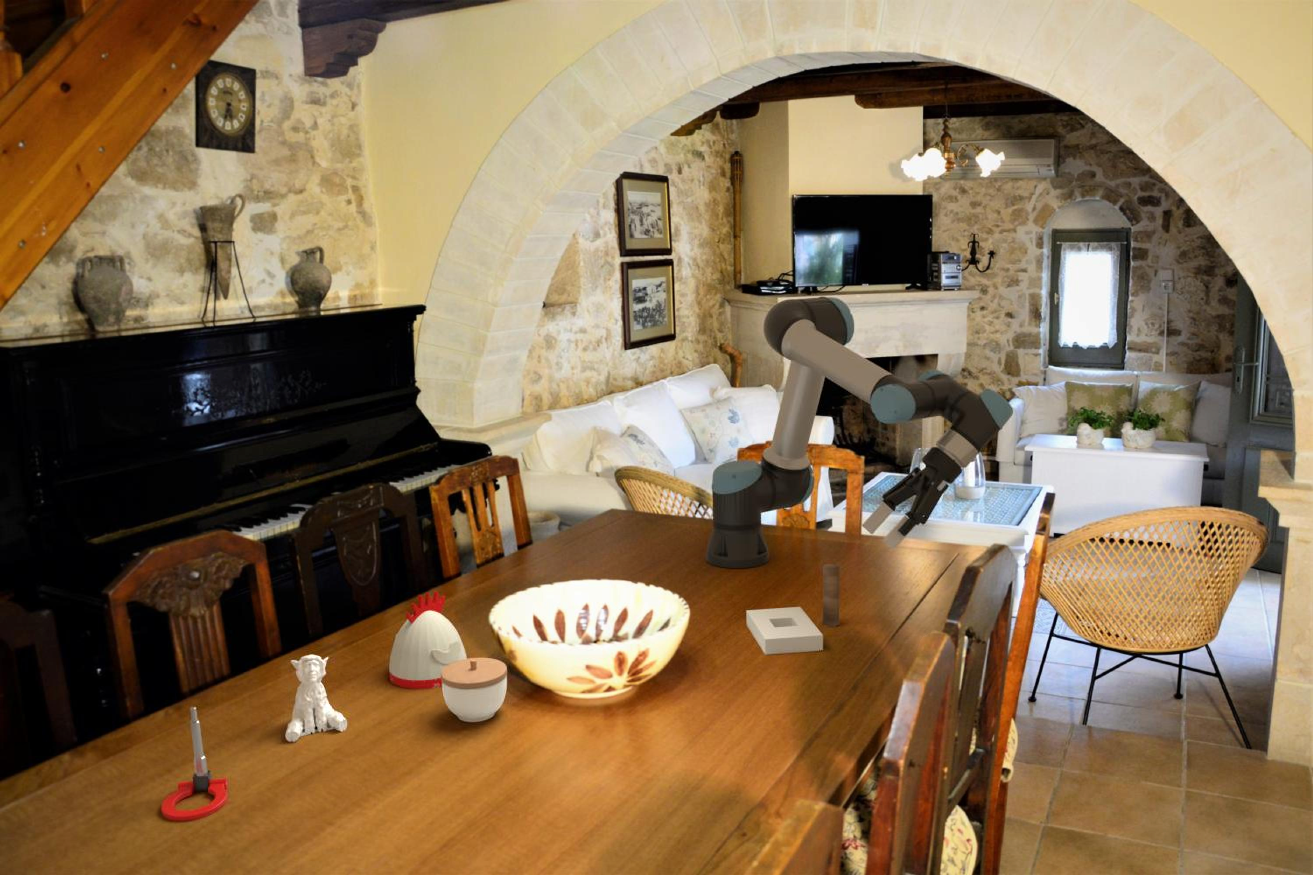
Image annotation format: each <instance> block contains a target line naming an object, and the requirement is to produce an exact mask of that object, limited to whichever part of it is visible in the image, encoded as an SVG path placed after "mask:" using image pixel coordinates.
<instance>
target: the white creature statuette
mask: <svg viewBox="0 0 1313 875" xmlns="http://www.w3.org/2000/svg"><path fill="white" fill-rule="evenodd" d="M328 659H329V656H327V657H325V658H323V659H322V657H321V656H319V655H316V654H309V655H304V656H301V657H300V659H298V660H293V659H291V660H290V663H291V664H292V665H293V668H295V669H296V670H295V674H296V677H297V678H298V681H299V682H300V685H298V687H297V689H296V690H297V691H296V695H295V697H294V698H295V701H294V702H295V703H294V705H293V709H292V710H293V711H292V714H291V715H292V718H291V721H290V722H288V724H287V728H286V730H285V735H284V736H285V739H286V740H287V741H288V742H293V743H295V742H296V741H298V740H299V738H300V737H305V736H309V735H311V733H312V734H315V733H316V732H319V733H322V731H323V732H326V731H330V730H336V731H339V732H341V733H342V732H343V731H346V729H347V727H348V721H347V719H346V717H344V715H343V714H342V713H341V712H339V711H337V710H335V709H334V708H333V707H332V705H331V704H330V702H329V700H328V698H327V696H328V695H327V690H326V689H325V687H324V684H323V683H322V682H321V681H322V679H323V677H325V676H326V675H327V672H326V666H327V661H328ZM316 727H317V729H316Z"/></svg>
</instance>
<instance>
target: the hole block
mask: <svg viewBox="0 0 1313 875" xmlns="http://www.w3.org/2000/svg"><path fill="white" fill-rule="evenodd" d="M745 614H746V626H747V628H748V629H749V631H750V633H751V634H752V636H753V637H754V639H755V641H756V642H757V644H758V645H759V647H760V648H761V650H762V652H763V653H764V655H779V654H781V655H782V654H790V653H791V654H794V653H805V652H808V653H809V652H820V651H821V650H822V651H824V635H823V633H822V632H821V631H820V630H819V629H818V627H817V626H816V625H815V623H814V622H813V621H812V620H811V618H810V617H809V616H808V615H807V614H806V612H805V611H804V610H803V608H802V607H801V606H796V607H795V606H793V607H780V608H776V607H775V608H762V609H750V610H746V612H745ZM819 650H820V651H819Z"/></svg>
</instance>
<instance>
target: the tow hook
mask: <svg viewBox="0 0 1313 875" xmlns="http://www.w3.org/2000/svg"><path fill="white" fill-rule="evenodd" d="M189 711H190V717H191V718H190V719H191V721H190V723H189V724H190V730H191V738H192V747H193V753H194V757H193V764H194V770H195V771H194V774H193V775H192V780H191V781H190V780H189V781H180V782H178V784H177V790H176V791H174V792H173V793H171V794H170V795H168V796H167V797H166V798H165V799H164V800H163V802H162V804H161V814H162V816H163V817H164V818H165V819H167V820H169V821H175V822H186V821H187V822H188V821H194V820H198V819H202V818H205V817H208V816H210V815H212V814H214V813H216V812H217V811H219V810H220V809H221V808H222V807H223V806H225V804H226V803H227V801H228V791H227V788H229V779H228V778H227V777H223V778H212V770H208V766H207V765H208V764H207V757H206V756H205V754H204V753H205V752H204V747H203V740H202V731H201V723H200V722H201V721H200V719H198V712H197V707H196V706H191V707H190V708H189ZM194 792H196V793H197V792H199V793H200V792H208V794H210V795H212V796H214V799H213V800H212V801H211V802H210V803H208V804H207V805H205V806H203V807H199V808H197V809H193V810H192V809H191V810H179V809H177V808H175V805H176V804H177V803H178V802H180V801H181V800H182V799H185V798H188V797H190V796H191V795H193V793H194Z"/></svg>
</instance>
